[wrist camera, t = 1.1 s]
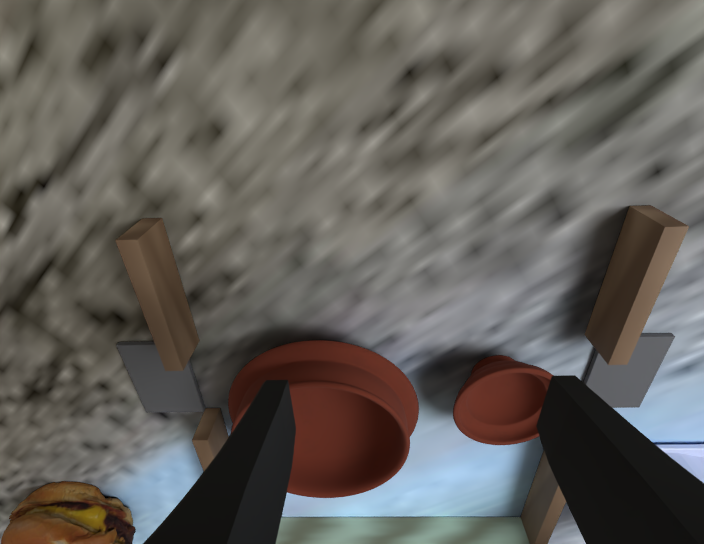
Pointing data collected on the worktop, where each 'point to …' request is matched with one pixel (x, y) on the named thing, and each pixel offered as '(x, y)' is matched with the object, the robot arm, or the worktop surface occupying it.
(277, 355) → the pottery
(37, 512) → the burger
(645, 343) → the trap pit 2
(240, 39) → the worktop surface
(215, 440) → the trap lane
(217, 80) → the worktop surface
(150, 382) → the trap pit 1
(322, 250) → the worktop surface
